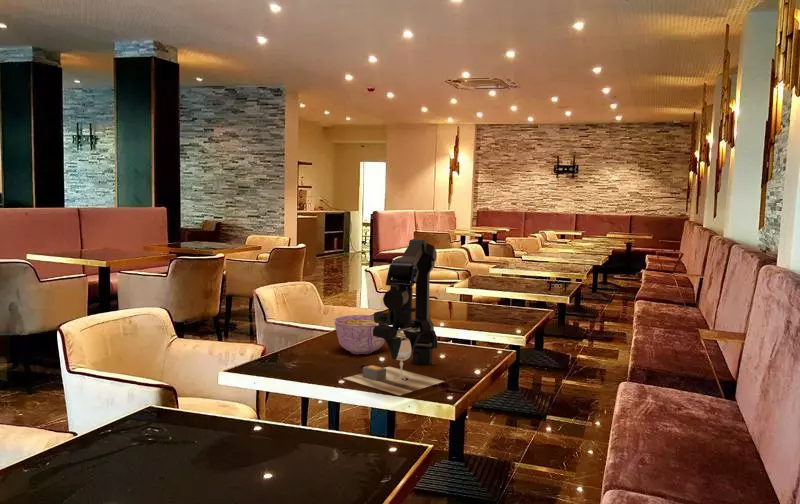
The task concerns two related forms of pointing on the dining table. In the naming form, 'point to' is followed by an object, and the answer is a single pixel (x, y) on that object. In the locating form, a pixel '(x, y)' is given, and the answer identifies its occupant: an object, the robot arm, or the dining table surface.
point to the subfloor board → (396, 386)
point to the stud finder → (374, 372)
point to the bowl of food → (358, 333)
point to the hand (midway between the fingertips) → (401, 357)
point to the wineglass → (403, 355)
